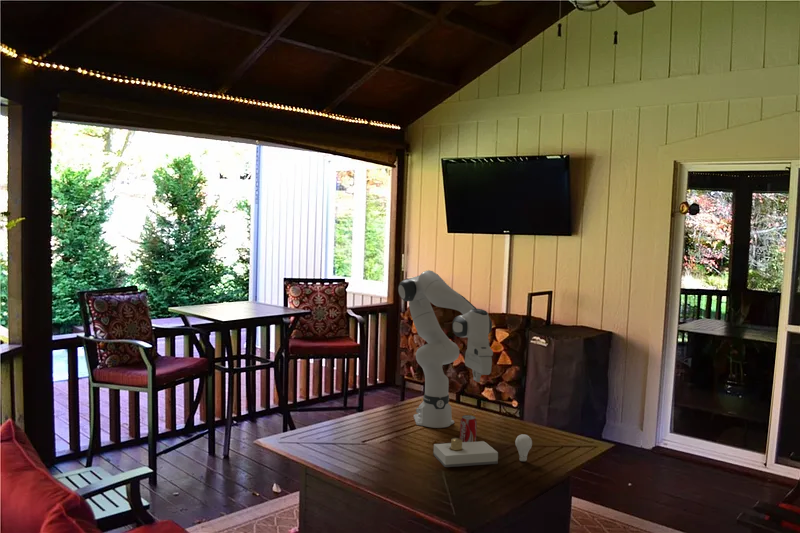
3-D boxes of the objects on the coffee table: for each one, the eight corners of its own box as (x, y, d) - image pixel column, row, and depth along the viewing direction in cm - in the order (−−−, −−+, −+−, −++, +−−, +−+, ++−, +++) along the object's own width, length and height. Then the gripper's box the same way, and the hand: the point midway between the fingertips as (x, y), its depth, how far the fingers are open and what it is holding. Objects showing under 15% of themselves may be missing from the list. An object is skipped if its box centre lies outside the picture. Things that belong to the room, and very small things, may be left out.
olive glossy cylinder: (448, 455, 253) (449, 438, 252) (457, 454, 255) (458, 437, 254) (453, 459, 249) (454, 441, 248) (463, 458, 251) (464, 441, 250)
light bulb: (511, 459, 254) (512, 432, 253) (525, 458, 256) (526, 431, 256) (520, 465, 247) (521, 437, 247) (534, 463, 250) (535, 436, 250)
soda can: (475, 447, 267) (476, 419, 266) (458, 446, 268) (459, 418, 268) (476, 442, 274) (477, 415, 273) (460, 441, 275) (461, 414, 275)
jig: (433, 455, 256) (433, 444, 256) (483, 451, 262) (483, 441, 262) (445, 467, 243) (445, 455, 243) (497, 463, 249) (498, 452, 249)
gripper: (461, 344, 272) (460, 375, 272) (480, 352, 252) (479, 386, 253) (475, 343, 273) (474, 375, 274) (495, 352, 254) (493, 386, 254)
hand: (476, 381), depth 263 cm, fingers closed
